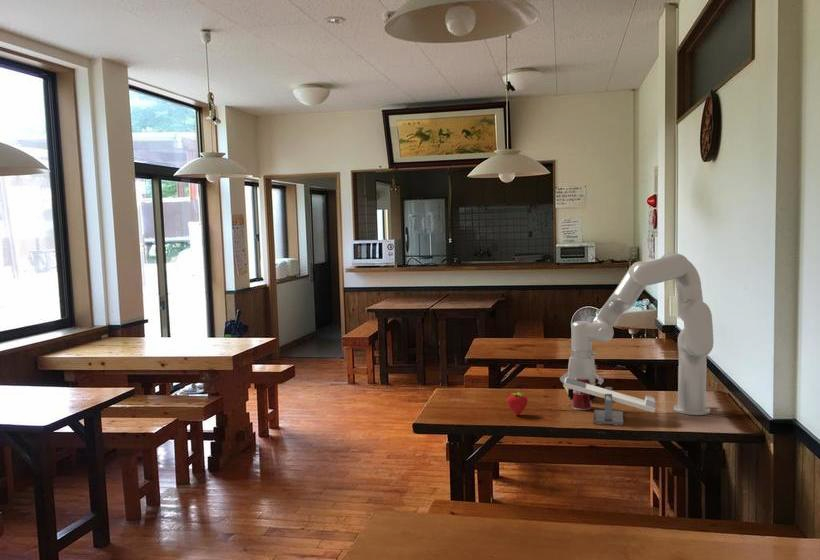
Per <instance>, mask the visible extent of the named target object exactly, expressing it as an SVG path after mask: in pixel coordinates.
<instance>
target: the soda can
mask: <svg viewBox="0 0 820 560" xmlns="http://www.w3.org/2000/svg"><path fill="white" fill-rule="evenodd" d="M574 380H577V381H580V382H584V383H586V384H590V382H589V379H577V378H575V379H574ZM590 385H591V384H590ZM592 402H593V401H591V394H588V393H584V392H581V391H577V390H574V389H572V400H571V406H572V409H574V410H577V411H588V409H589V410H590V409H591V408H592Z"/></svg>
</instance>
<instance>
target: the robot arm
mask: <svg viewBox="0 0 820 560" xmlns="http://www.w3.org/2000/svg"><path fill="white" fill-rule="evenodd" d="M672 280H674V283H675V287H676V295H677V298H676V299H677V313H678V316H679V319H681V321H683V327H684V328H683V329H681V330H680V332H679V333H678V335H677V336H678V337H677V351H678V374H677V375H678V376H677V377H678V382H677V383H678V385H677V387H678V388H677V392H678V394H677V399H678V400H677V404H675V405H673V410H674V412H677V413H679V414H683V415H689V416H705V415H709V414H710V413H711V409H710V408H709V406H706V405H707V402H708V401H709V397H707V365H708V364H707V356H708V355H709V354H710V353H711V352H712V351H713V347H714V327H713V314H712V311H711V309H710V307H709V305H708V304H707V303H706V302H704V298H703V290H702V288H703V287H702V282H701V276H700V274H699V272H698V270H697V268H696V267H695V265H694V264H693V263H692V262H691V261H690V260H689V259H688V257H686V256H685V255H683V254H680V253H676V252H667V253H664V254H663V255H662V256H661V257H660V258H657V259H654V260H649V261H643V260H642V261H639V260H638V261H636V262H634V263H633V264H632V265H630V266H629V268H628V270H627V272H625V274H624V276H623V277H622V279H621V281H619V282H620V283H619V284H618V285H617V287H616V288H615V290H614V291H613V293H612V294H611V295H610V297H609V298H608V299H607V300H606V302H605V303H604V304H603V306H602V307H601V309H600V310H599V311H598V313H597V314H596V316H595V317H594V319H593V321H592V322H590V321H585V320H576V321H573V322H572V323H571V327H570V328H571V330H570V331H571V333H570V334H571V335H570V336H571V340H570V341H571V345H570V346H571V348H570V349H571V350H570V351H571V354H570V356H569V357H568V365H567V366H568V367H567V372H566V373H564V374H563V375H562V376H560V377H559V381H560V382H561V383H562V385H564V381H565V378H567V377H568V378H570V379H573V380H574V379H575V378H577V379H589V382H590V384H591V385H593V386H597V387H600V386H601V385H602V384H603V383H604V380H605V379H604V378H602V377H601V376H600V375H599V374H597V373H596V362H595V358H594V356H595V355H596V354H597V353H596V352H597V351H596V350H593V349H592V348H593V345H592V343H593V342H599V343H607V342H609V341H611V340H612V339H613V337H614V335H615V334H614V333H615V332H614V328H613V327H614V325H615V324H616V322H617V321H618V320H619V318H620V317H621V316H622V315H623V314H624V313H625V312H627V311H628V310H629V309H632V307H633V306H634V305H635V304H636V302H637V300H638V299H639V297H640V295H642V292H643V291H644V290H645V288H646V287H647V286H651V285H656V284H661V283H664V282H667V281H672ZM596 379H597V380H598V382H597V383H596ZM594 383H595V384H596V385H595V384H594ZM567 389H568V393H567V396H568V398H569V400H570V401H572V389H570V388H567ZM594 399H596V396H594V395H591V401H592V402H594Z"/></svg>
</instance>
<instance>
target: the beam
mask: <svg viewBox="0 0 820 560" xmlns="http://www.w3.org/2000/svg"><path fill="white" fill-rule="evenodd" d="M562 385H563V386H562V387H567V388H570V389H574V390H577V391H581V392H584V393H588V394H591V395H594V396H595V397H599V398H603V399H605V394H612V402H616V403H620V404H622V405H626V406H629V407H632V408H636V409H640V410H643V411H646V412H651V413H654V414H655V412H656V409H657V408H656V399H655V397H653V396H649V395H645V398H644V399H642V398H638V397H635V396H633V395H628V394H624V393H621V392H618V391H614V390H612V391H611V390H607V389H605V387H604V388H603V387H600V386H599V387H597V386H593V385H590V384H586V383H584V382H580V381H577V380H573V379H570V378H565V381H564V384H562Z"/></svg>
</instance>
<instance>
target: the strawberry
mask: <svg viewBox="0 0 820 560" xmlns="http://www.w3.org/2000/svg"><path fill="white" fill-rule="evenodd" d="M517 390H518V392H514V393H513V392H512V393H510V395H509V396H508V397H507V400H506V402H507V406H508V407H509V408H510V410H511V411H512V412H513V413H514V414H515V415H516V416H520V415H521V413H523V411H525V409H526V407H527V405H528V398H527V397H526V396H525V395H526V394H524V393H522V392H520V391H519V389H517Z"/></svg>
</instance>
